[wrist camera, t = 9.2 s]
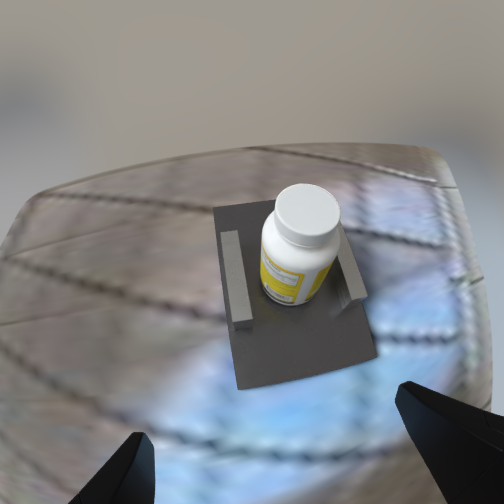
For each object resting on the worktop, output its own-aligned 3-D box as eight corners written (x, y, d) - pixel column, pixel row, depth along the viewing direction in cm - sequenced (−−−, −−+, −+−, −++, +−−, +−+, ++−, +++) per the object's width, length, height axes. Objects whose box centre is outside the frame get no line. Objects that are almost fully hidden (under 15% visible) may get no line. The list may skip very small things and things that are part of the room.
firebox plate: (373, 358, 21) (389, 351, 18) (238, 389, 20) (236, 389, 17) (320, 199, 30) (326, 179, 27) (213, 212, 29) (210, 191, 26)
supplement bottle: (311, 248, 26) (337, 173, 17) (325, 301, 23) (366, 241, 14) (255, 255, 25) (257, 178, 17) (264, 311, 22) (272, 252, 14)
